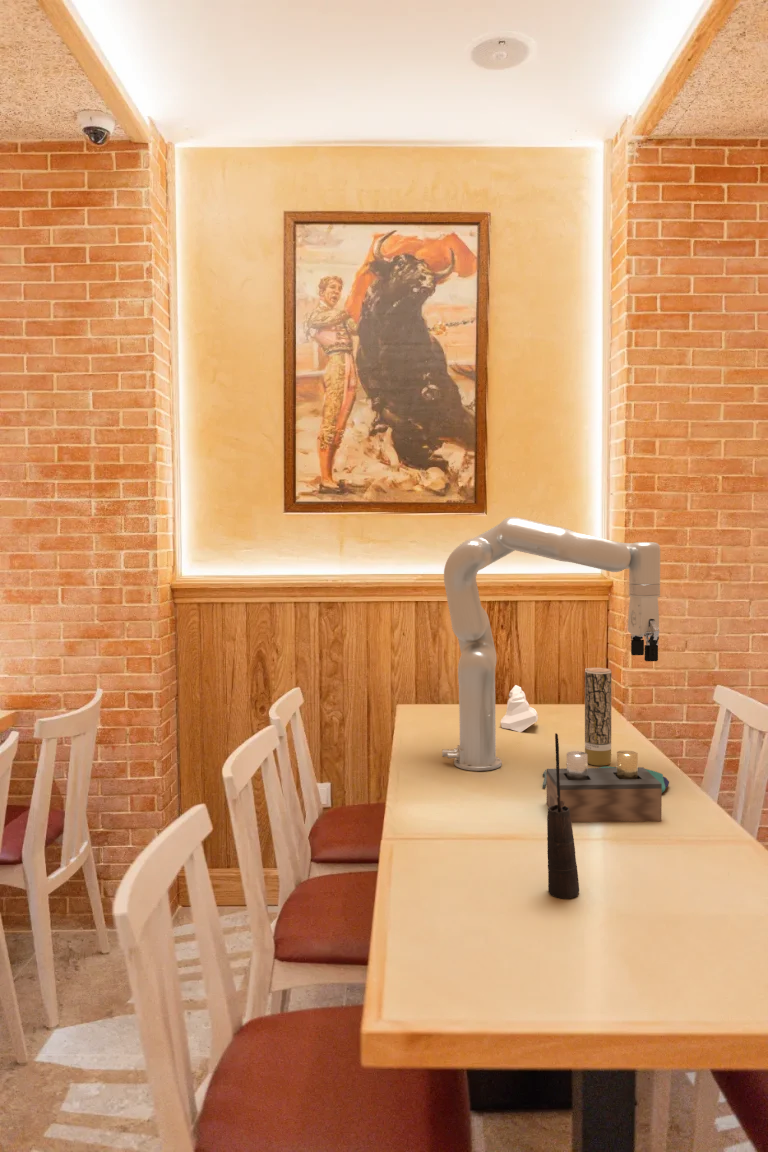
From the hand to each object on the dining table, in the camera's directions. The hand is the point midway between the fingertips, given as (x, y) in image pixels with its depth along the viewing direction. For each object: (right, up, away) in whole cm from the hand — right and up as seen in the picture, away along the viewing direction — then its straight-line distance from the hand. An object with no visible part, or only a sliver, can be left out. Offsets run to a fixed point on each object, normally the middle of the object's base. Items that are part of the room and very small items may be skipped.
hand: (644, 658), depth 205 cm
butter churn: (-35, -34, -65) cm, 81 cm away
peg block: (-18, -31, -27) cm, 45 cm away
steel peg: (-24, -26, -28) cm, 45 cm away
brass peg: (-13, -26, -28) cm, 40 cm away
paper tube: (-9, -29, +10) cm, 32 cm away
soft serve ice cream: (-23, -27, +50) cm, 61 cm away
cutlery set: (-12, -31, -7) cm, 34 cm away
